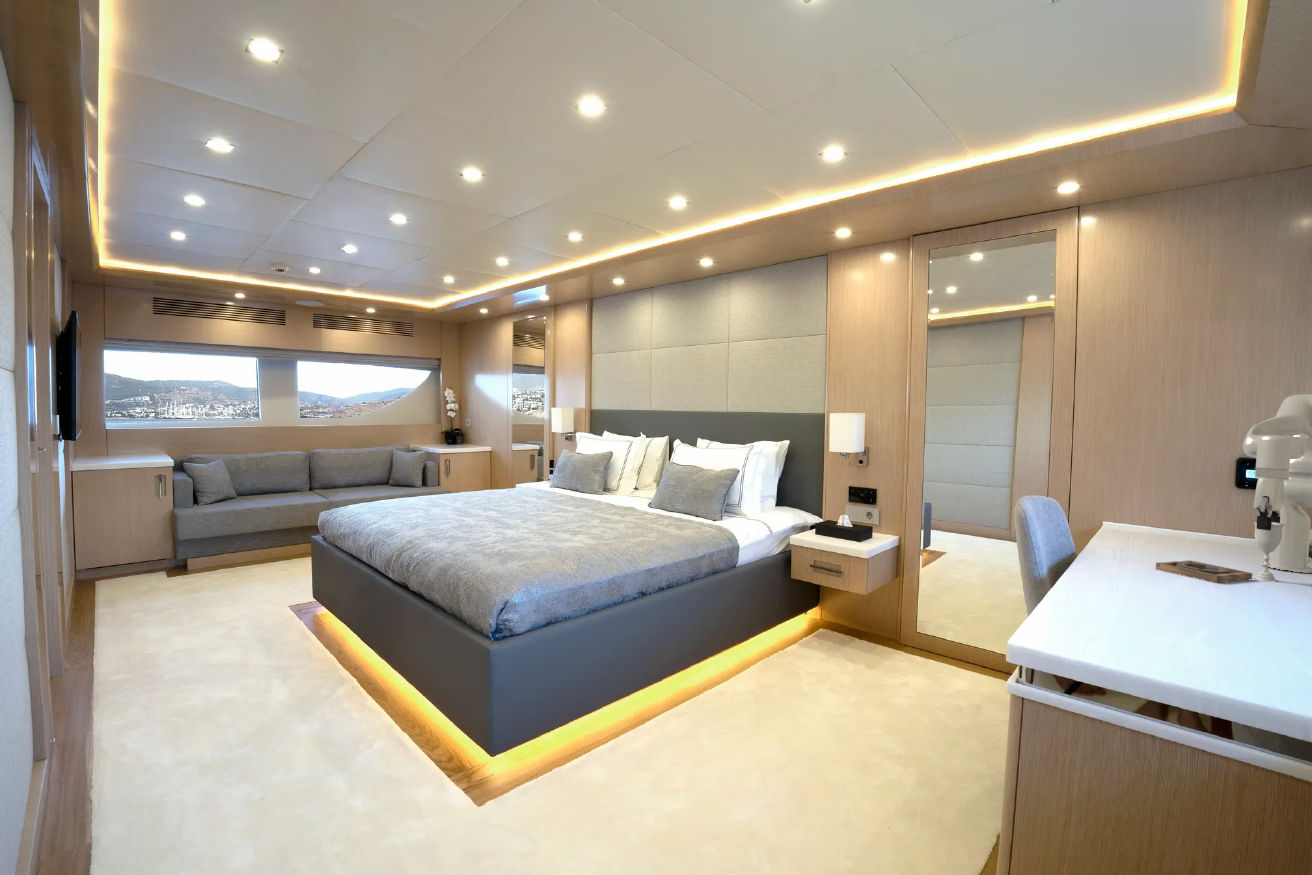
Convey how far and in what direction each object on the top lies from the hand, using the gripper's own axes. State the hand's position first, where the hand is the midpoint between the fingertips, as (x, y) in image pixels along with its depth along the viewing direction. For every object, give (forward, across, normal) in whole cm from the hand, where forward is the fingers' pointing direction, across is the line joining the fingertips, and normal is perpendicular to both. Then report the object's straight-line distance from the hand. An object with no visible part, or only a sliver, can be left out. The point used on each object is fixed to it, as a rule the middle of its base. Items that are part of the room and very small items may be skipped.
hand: (1268, 528), depth 192 cm
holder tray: (+16, +10, -12) cm, 23 cm away
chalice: (+16, -1, 0) cm, 16 cm away
